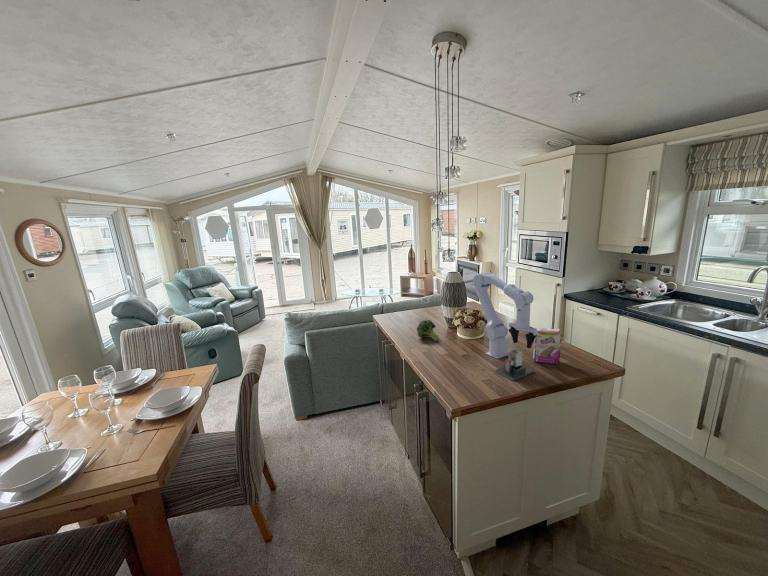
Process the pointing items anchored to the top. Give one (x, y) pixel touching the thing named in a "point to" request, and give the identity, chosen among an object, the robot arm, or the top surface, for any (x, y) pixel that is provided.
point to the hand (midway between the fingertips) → (522, 345)
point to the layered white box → (515, 357)
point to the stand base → (514, 371)
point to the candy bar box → (547, 346)
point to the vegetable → (427, 329)
